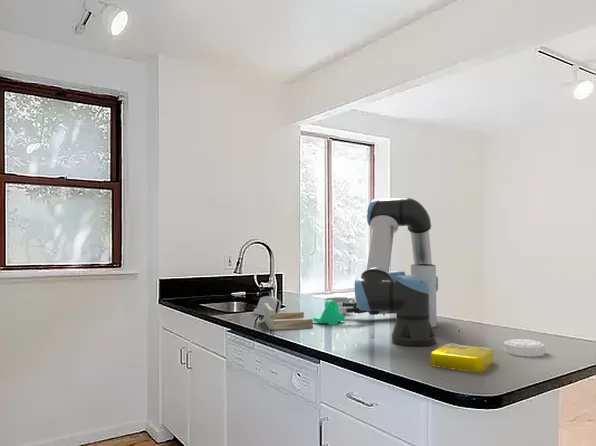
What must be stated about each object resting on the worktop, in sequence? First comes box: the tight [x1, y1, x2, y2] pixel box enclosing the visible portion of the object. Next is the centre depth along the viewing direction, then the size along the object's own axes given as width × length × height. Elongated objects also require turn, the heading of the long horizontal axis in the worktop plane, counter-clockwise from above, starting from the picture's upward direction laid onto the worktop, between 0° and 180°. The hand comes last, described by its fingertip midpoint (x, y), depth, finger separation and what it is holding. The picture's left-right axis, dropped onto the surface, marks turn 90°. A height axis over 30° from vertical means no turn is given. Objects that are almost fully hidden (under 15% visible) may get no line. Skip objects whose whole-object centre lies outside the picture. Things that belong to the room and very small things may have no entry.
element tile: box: [430, 343, 494, 373], centre depth 149 cm, size 15×15×5 cm
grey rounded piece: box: [252, 295, 282, 316], centre depth 251 cm, size 17×5×10 cm, turn 35°
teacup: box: [325, 296, 356, 306], centre depth 249 cm, size 14×11×8 cm
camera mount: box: [312, 299, 346, 326], centre depth 223 cm, size 12×8×10 cm, turn 118°
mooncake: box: [503, 338, 546, 358], centre depth 162 cm, size 12×12×4 cm
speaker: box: [410, 263, 438, 328], centre depth 212 cm, size 11×10×26 cm
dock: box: [263, 303, 314, 331], centre depth 221 cm, size 22×18×8 cm
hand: (333, 308), depth 225 cm, fingers open, 13 cm apart
